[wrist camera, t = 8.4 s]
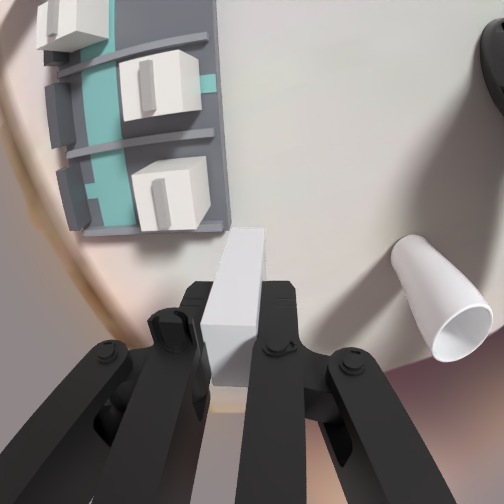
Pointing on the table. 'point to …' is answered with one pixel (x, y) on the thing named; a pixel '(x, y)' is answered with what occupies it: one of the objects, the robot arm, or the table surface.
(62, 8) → the white block
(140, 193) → the switch slider
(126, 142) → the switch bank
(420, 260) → the drinking glass
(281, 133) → the table surface
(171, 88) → the white block with ridge
